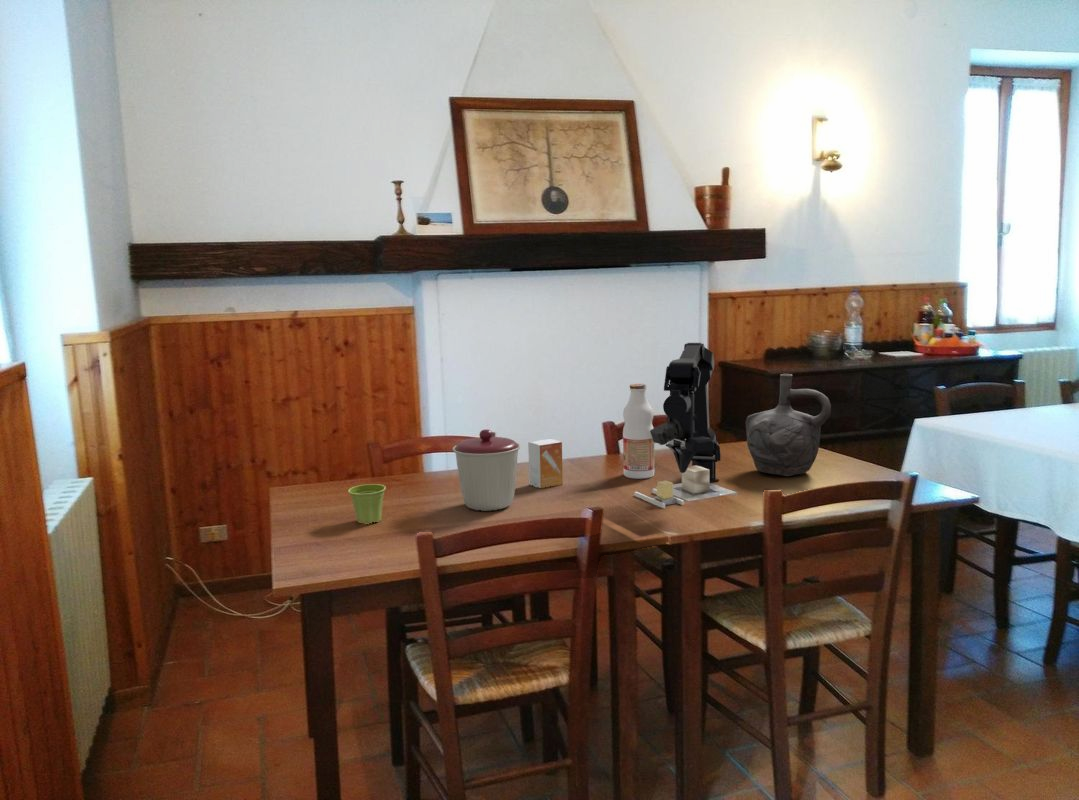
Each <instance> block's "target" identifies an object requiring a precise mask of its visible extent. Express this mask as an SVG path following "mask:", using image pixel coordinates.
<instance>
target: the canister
mask: <svg viewBox="0 0 1079 800" xmlns="http://www.w3.org/2000/svg"><path fill="white" fill-rule="evenodd" d="M520 449H521V444H520V443H518V442H517V441H515V440H513V439H511V438H507V437H503V436H502V437H501V436H493V432H492V430H490V429H482V430H480V432H479V437H474V438H473V437H472V438H468V439H464V440H462V441H460V442H458V443H457V444H456V445H454V446H453V447H452V451H453V452H454V453H455V460H456V465H457V473H458V478H459V484H460V485H459V487H460V490H461V494H462V495H461V496H462V500H463V503H464V504H465V505H466V507H468V509H471V510H475V511H479V510H481V512H482V511H483V512H493V511H497V510H498V509H499V510H503V509H506V508H508V507H509V506H510V505H511V504H512V503H513V501H514V498H515V491H516V482H517V469H518V468H517V467H518V466H517V465H518V454H519V450H520ZM492 510H493V511H492Z"/></svg>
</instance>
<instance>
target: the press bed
mask: <svg viewBox="0 0 1079 800" xmlns="http://www.w3.org/2000/svg"><path fill="white" fill-rule="evenodd" d="M654 489H657V486H656V487H654ZM728 495H733V496H735V497H737V496H738V492H737V491H734V490H731V489H728V488H725V487H723V486H720V485H717V484H715V483H712V482H710V485H709V491H705V492H699V493H692V492H690V491H687V490H685V489H682V482H679V483H673V496H674V497H676V498H679V499H681V500H684V501H686V502H692V501H699V500H705V499H710V498H716V497H722V496H728Z"/></svg>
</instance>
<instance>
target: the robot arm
mask: <svg viewBox="0 0 1079 800" xmlns="http://www.w3.org/2000/svg"><path fill="white" fill-rule="evenodd" d="M714 370H715V356H714V354H713V351H711V350H709V349H708V348H706V347H705V343H702V342H687V343H685V344H684V347H683V350H682V353H681V354H680V357H679V358H677V359H673V360H672V361H670V362H669V364H668V366H666V369H665V376H664V385H663V392H669V396H668V397H666V399H665V400H664V401H663V404H662V407H663V408H662V409H663V411H664V414H665V415H666V416H667V417H666V422H663V423H661V424H660V425H657V426H655V427H654V429H652V430H650V433H651V436H652V439H653V442H654V444H658V445H660V446H663V445H665V446H666V447H668V449H670V450H671V451H672V453H673V455H674V457H675V460H676V463H677V467H678V470H679V473H681V474H682V473H685V472H686V470H687V468H688V466H695V465H697V466H700V467H703V468H706V469H709V470H710V483H712V482H718V481H720V479H719V478H717V477H716V475H717V473H716V472H717V471H716V468H717V467H716V466H717V465H716V463H718V462H720V461H722V459H721V458H722V457H721V456H722V455H721V453H722V452H721V446H720V445H719V442H718V441H717V439H716V433H715V431H714V430H713V429H712V427H710V409H709V392H708V390H709V389H708V388H709V387H708V383H709V382H710V380H711V378H712V375H713V371H714ZM690 464H691V465H690Z"/></svg>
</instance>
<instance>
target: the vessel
mask: <svg viewBox="0 0 1079 800" xmlns="http://www.w3.org/2000/svg"><path fill="white" fill-rule="evenodd" d="M779 377H780V378H779V398H778V404H777V406H775V408H772V409H769V410H764V411H760V412H756V413H753V414H749V415H748V416H747V417H746V420H745V429H746V430H745V432H746V445H747V448H748V450H749V453H750V456H751V458H752V461H753V464H754V467H755V469H756V470H758V471H759V472H761V473H765V474H770V475H776V476H778V475H779V476H782V477H783V476H784V477H791V476H795V474H796V475H800V474H805V473H807V472H809V471H810V470H811V469H812V467H813V465H814V463H815V461H816V458H817V455H818V453H819V447H820V440H821V430H822V428H821V427H822V425H823V424H825V422H826V421H827V420H829V417H830V415H831V413H832V405H831V402H830V399H829V398H828V396H826V395H825V394H824V393H822V392H820V391H818V390H817V389H812V388H811V389H810V388H798V389H793V388H792V381H793V374H792V373H782V374H780V375H779ZM799 398H801V399H802V398H808V399H809V398H810V399H815V400H817V401H818V402H819V403H820V405H821V411H820V413H819V414H818V415H816V416H815V415H814V416H813V415H810V414H809V413H804V412H802V411H798V410H794V409H793V408H792V406H791V401H792V400H794V399H799Z"/></svg>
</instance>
